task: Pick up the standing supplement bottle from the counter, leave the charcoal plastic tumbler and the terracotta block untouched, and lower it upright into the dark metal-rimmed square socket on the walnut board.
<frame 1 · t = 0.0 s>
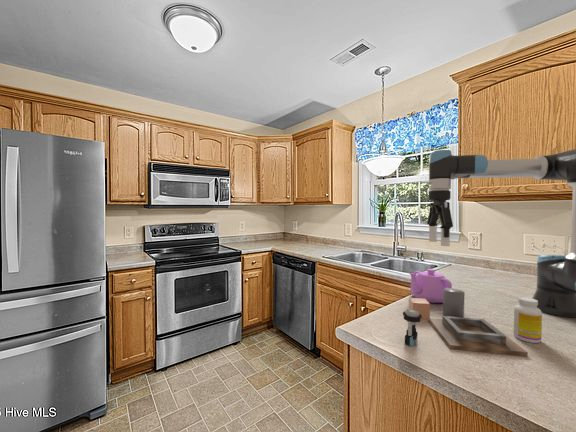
hand: (438, 243, 105), 28 cm above the table, tool pointing down, fingers open, 13 cm apart
terracotta block: (418, 315, 104), on the table
push button: (412, 342, 83), on the table
teapot: (426, 299, 123), on the table
grey tumbler: (453, 316, 104), on the table
supplement bottle: (527, 339, 86), on the table
socket board: (471, 336, 87), on the table
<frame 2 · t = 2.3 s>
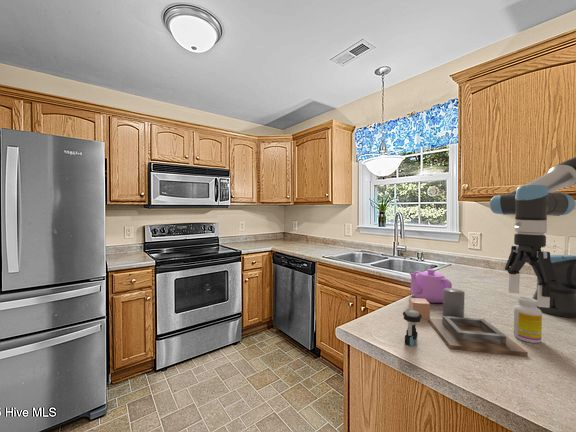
hand: (527, 299, 85), 13 cm above the table, tool pointing down, fingers open, 13 cm apart
nothing on the table moved.
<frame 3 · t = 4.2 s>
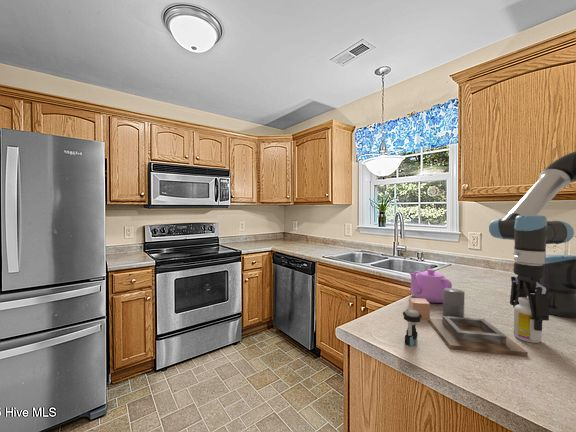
hand: (527, 333, 86), 2 cm above the table, tool pointing down, fingers closed on supplement bottle, 7 cm apart
supplement bottle: (527, 339, 86), on the table, touching gripper
everything else where it was.
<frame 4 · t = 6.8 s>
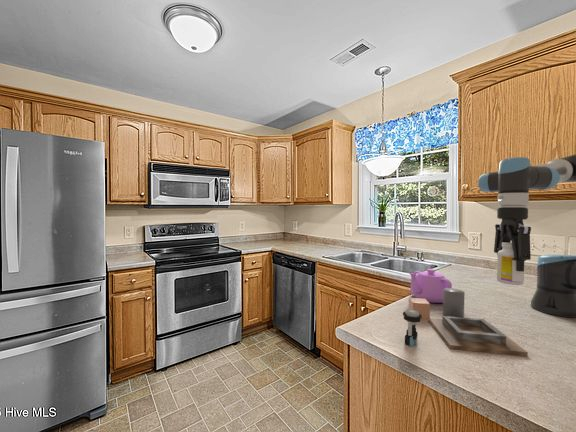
hand: (509, 278, 85), 20 cm above the table, tool pointing down, fingers closed on supplement bottle, 7 cm apart
supplement bottle: (509, 283, 85), point 18 cm above the table, touching gripper
everything else where it was.
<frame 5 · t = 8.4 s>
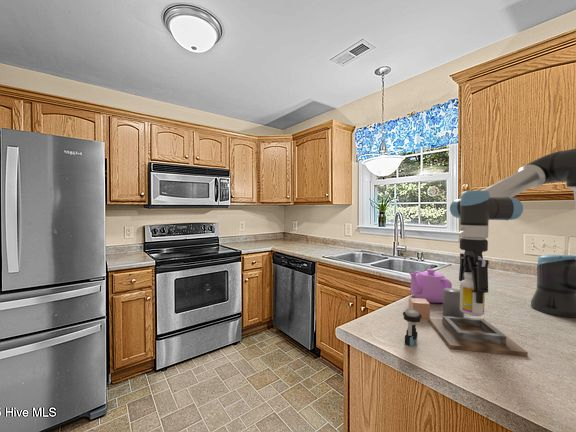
hand: (471, 308, 87), 9 cm above the table, tool pointing down, fingers closed on supplement bottle, 7 cm apart
supplement bottle: (471, 313, 87), point 8 cm above the table, touching gripper
everything else where it was.
when the fingers open (5 cm above the table, at t = 9.7 s): supplement bottle drops 2 cm, resting on socket board.
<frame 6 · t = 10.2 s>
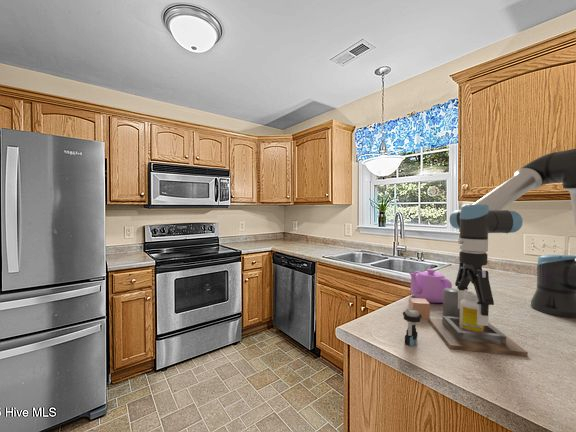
hand: (471, 316, 87), 7 cm above the table, tool pointing down, fingers open, 13 cm apart
supplement bottle: (471, 333, 87), point 1 cm above the table, touching socket board
everything else where it was.
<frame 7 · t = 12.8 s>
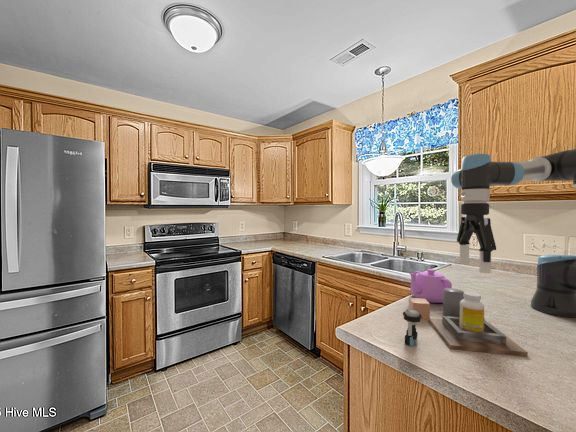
hand: (473, 267, 87), 23 cm above the table, tool pointing down, fingers open, 13 cm apart
nothing on the table moved.
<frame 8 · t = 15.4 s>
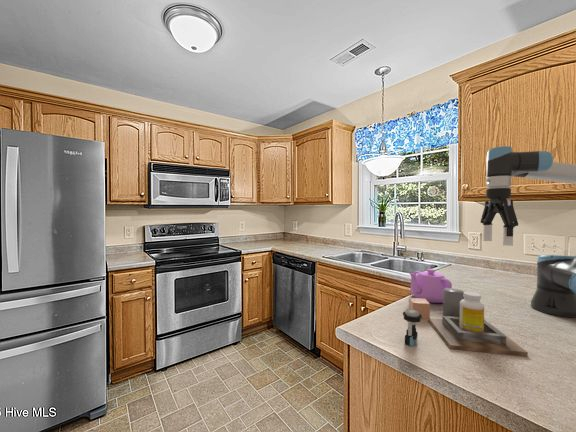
hand: (497, 243, 103), 29 cm above the table, tool pointing down, fingers open, 13 cm apart
nothing on the table moved.
at the end: supplement bottle 0.2 cm off-centre on the socket board, point 1.0 cm above the socket board's base; supplement bottle tilted 0°; grey tumbler moved 0.0 cm from its start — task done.
